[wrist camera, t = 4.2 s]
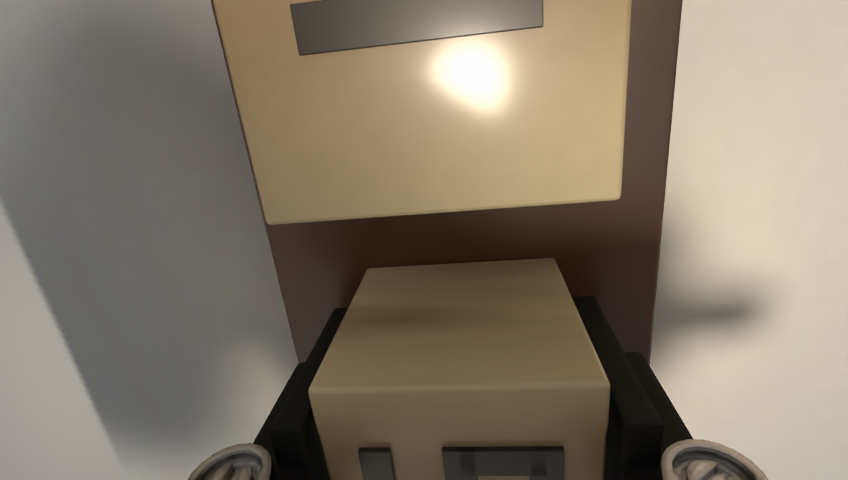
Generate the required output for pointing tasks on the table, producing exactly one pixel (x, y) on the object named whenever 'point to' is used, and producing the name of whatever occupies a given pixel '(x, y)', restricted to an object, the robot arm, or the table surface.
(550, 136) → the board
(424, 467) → the tile
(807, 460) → the table surface
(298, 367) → the robot arm
